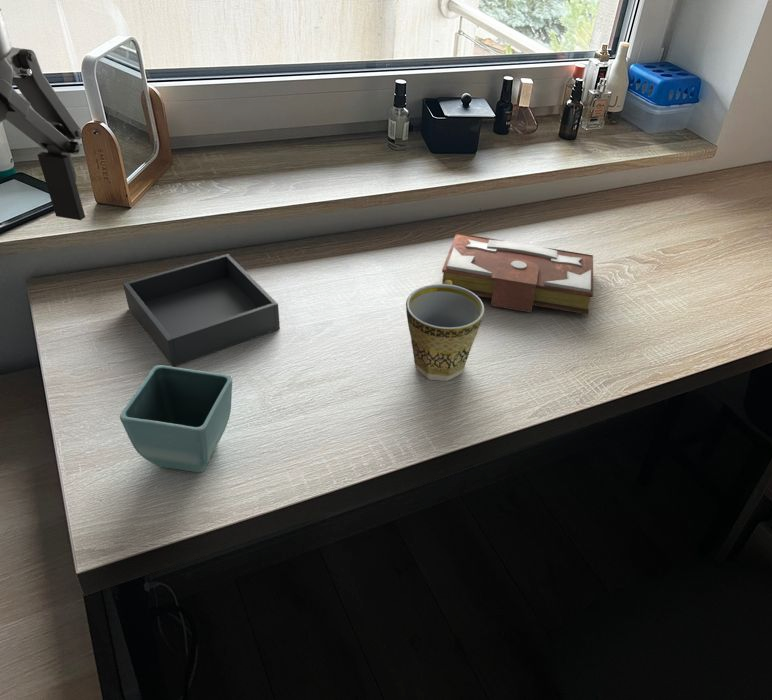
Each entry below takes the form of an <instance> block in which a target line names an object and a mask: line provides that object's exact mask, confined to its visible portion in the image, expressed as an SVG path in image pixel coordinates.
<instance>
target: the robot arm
mask: <svg viewBox="0 0 772 700" xmlns="http://www.w3.org/2000/svg"><path fill="white" fill-rule="evenodd" d="M8 32H9V31H8V29H7V26H6V22H5V19H4V17H3V12H2V9H1V8H0V123H1V122H3V121H5V120H6V121H7V122H9V124H10V125H12V126H14V127H15V128H16V129H17V130H19V131H20V132H21V133H23V134H24V135H25V136H26V137H28V138H29V139H31V141H33V142H34V143H35V144H37V145H38V146H39V147H41V148H42V149H44V150H47V151H41V152H39V153H38V154H37V158H38V161H39V165H40V168H41V172H42V175H43V178H44V181H45V185H46V189H47V192H48V194H49V198H50V201H51V204H52V208H53V210H54V215H55V217H58V218H63V219H71V220H76V221H82V220H83V219H85V218H86V214H85V210H84V206H83V204H82V200H81V195H80V193H79V190H78V189H79V188H78V185H77V183H76V182H77V172H76V170H75V166H74V162H73V158H72V155H71V154H73V155H78V154H79V153H80V151H81V146H80V143H79V142H78V141H75V140H81V139H82V136H83V131H82V129H81V127H80V125H79V124H78V123H77V121H76V119H75V118H74V117H73V115H72V114H71V112H70V111H69V109H68V108H67V107H66V105H65V103H64V102H63V101H62V100H61V97H59V95H58V94H57V92H56V91H55V89H54V88H53V87H52V85H51V84H50V83H49V81H48V80H47V78H46V76H45V75H44V73H43V71H42V68H41V66H40V63H39V60H38V57H37V55H36V53H35V51H34V50H33V49H28V48H20V47H13V46H12V43H11V40H10V39H11V38H10V36H9V33H8ZM13 84H14V85H15V87H16V88H17V90H18V91H19V92H20V93H21V94H22V95H21V94H20V93H19V92H17V90H15V89H14V87H13Z"/></svg>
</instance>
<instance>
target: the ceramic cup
mask: <svg viewBox="0 0 772 700" xmlns="http://www.w3.org/2000/svg"><path fill="white" fill-rule="evenodd" d="M405 310H406V312H405V313H406V318H407V326H408V331H409V335H410V339H411V347H412V354H413V361H414V368H415V369H416V370H417V371H418V372H419V373H420V374H422V375H423V376H424V377H425V378H426V379H428V380H430V381H440V382H448V381H450V380H452V379H454V378H456V377H458V376H460V375H461V374H463V372H464V370H465V367H466V364H467V361H468V358H469V355H470V353H471V349H472V347H473V343H474V341H475V339H476V337H477V335H478V332H479V329H480V327H481V323H482V321H483V318H484V313H485V306H484V303H483V301H482V299H481V298H480V296H476V295H475V294H474V293H472V292H471V291H469V290H467V289H464V288H462V287H459V286H455V285H452V281H451V280H445V282H444V284H442V283H436V284H428V285H424V286H421V287H419V288H417V289H415V290H414V291H412V292H411V293H410V294H409V295H408V297H407V298H406V302H405Z"/></svg>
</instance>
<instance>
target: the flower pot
mask: <svg viewBox="0 0 772 700" xmlns="http://www.w3.org/2000/svg"><path fill="white" fill-rule="evenodd" d="M232 397H233V377H232V375H230V374H226V373H225V374H224V373H218V372H211V371H203V370H196V369H190V368H183V367H176V366H174V367H173V366H172V365H163V364H162V365H161V364H157V365H155V366H153V368H152V369H150V371H149V373H148V374H147V376H146V377H145V379H144V380H143V382H142V383H141V385H140V386H139V388H138V389H137V390H136V392H135V394H133V396H132V397H131V399H130V400H129V401H128V403H127V405H126V406H125V407H124V409H123V410H122V411H121V414H119V420H120V422H121V423H122V426H123V428H124V431H125V433H126V435H127V437H128V439H129V441H130V444H132V447H133V448H134V450H135V451H136V452H137V453H138V454H139V455H140V456H141V457H142V458H143V459H144V460H146V461H148V462H150V463H151V464H152V465H155V466H157V467H159V468H167V469H171V470H172V469H173V470H180V471H186V472H192V473H202V472H203V471H205V469H206V468H207V465H208V464H209V462H210V460H211V458H212V455H213V453H214V452H215V450H216V448H217V446H218V445H219V442H220V440H221V438H222V436H223V435H224V433H225V431H226V428H227V426H228V423H229V420H230V417H231V416H230V415H231V412H232Z"/></svg>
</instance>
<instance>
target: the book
mask: <svg viewBox="0 0 772 700" xmlns="http://www.w3.org/2000/svg"><path fill="white" fill-rule="evenodd" d="M441 271H442V272H441V273H443V274H442V282H441V284H444V282H445V280H451V281H452V285H455V286H459V287H462V288H464V289H467V290H469V291H471V292H472V293H474V294H475V295H476V296H478V297H482V298H487V299H491V302H490V306H491V307H497V308H504V309H509V310H515V311H521V312H526V313H532V310H533V306H535V307H542V308H548V309H554V310H559V311H564V312H565V311H566V312H571V313H579V314H582V315H583V314H584V315H589V314H590V303H591V300H592V298H593V297H594V254H588V253H587V254H586V253H583V252H581V253H580V252H575V251H570V250H569V251H568V250H564V249H557V248H551V247H545V246H539V245H533V244H529V243H524V242H523V243H522V242H516V241H508V240H501V239H496V238H489V237H484V236H479V235H470V234H465V233H460V232H456V234H455V236H454V238H453V241H452V243H451V246H450V248H449V251H448V254H447V256H446V259H445V262H444V264H443V266H442V270H441Z"/></svg>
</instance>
